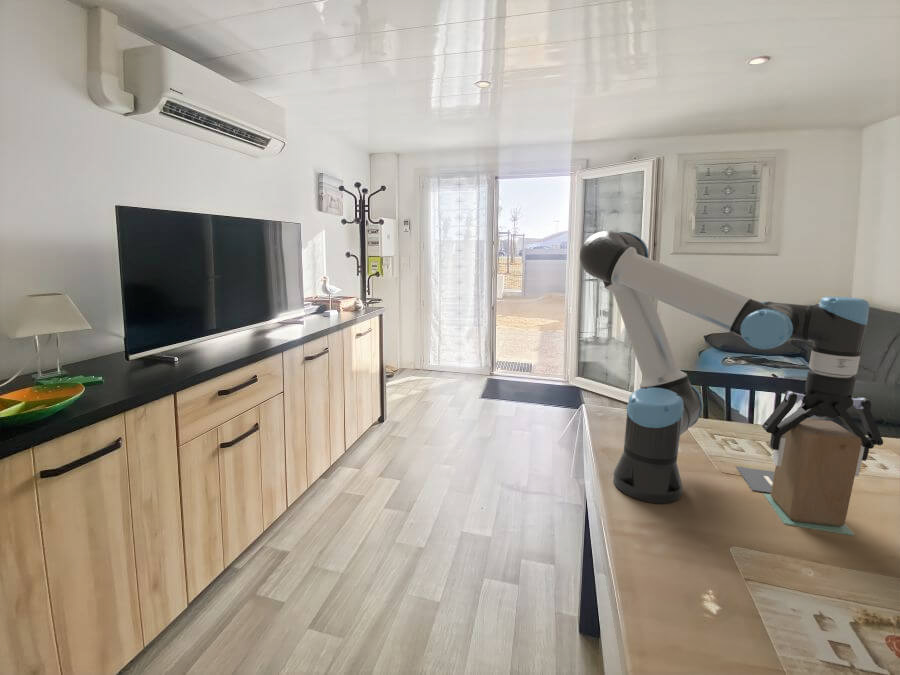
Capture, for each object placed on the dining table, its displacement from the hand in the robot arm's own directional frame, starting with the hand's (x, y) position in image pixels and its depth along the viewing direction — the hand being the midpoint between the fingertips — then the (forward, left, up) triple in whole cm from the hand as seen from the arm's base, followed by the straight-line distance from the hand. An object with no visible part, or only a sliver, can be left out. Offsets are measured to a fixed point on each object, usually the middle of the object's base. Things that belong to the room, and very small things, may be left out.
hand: (813, 468), depth 94 cm
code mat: (+1, +13, -11) cm, 17 cm away
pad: (0, 0, -11) cm, 11 cm away
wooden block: (0, 0, -11) cm, 11 cm away
